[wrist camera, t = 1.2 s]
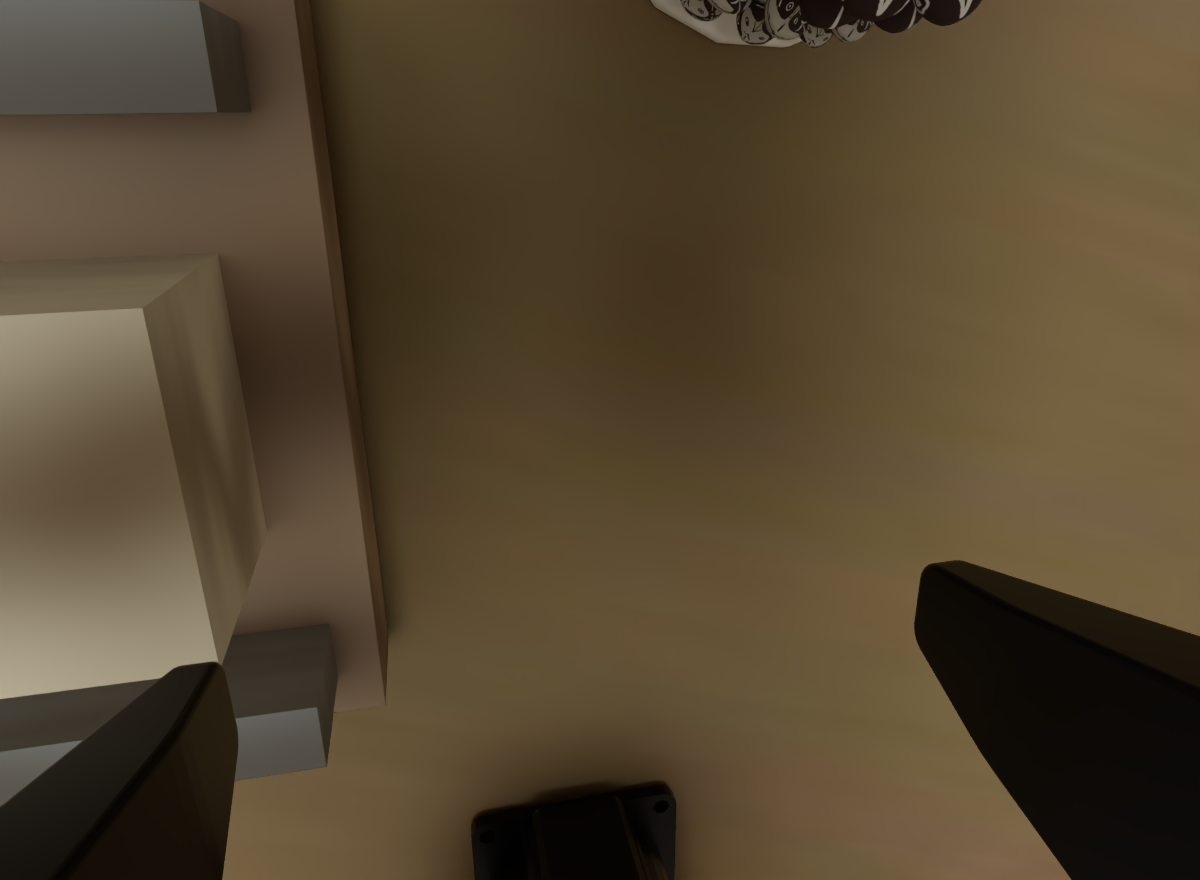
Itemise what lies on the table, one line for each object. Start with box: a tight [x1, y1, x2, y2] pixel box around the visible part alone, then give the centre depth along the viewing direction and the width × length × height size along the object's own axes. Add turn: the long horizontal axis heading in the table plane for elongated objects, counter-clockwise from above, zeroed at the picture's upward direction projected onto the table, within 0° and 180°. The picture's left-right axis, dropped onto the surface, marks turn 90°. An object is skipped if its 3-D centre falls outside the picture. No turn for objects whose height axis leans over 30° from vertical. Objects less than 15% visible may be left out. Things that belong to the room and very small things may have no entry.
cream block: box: [0, 253, 267, 699], centre depth 14 cm, size 6×6×5 cm
